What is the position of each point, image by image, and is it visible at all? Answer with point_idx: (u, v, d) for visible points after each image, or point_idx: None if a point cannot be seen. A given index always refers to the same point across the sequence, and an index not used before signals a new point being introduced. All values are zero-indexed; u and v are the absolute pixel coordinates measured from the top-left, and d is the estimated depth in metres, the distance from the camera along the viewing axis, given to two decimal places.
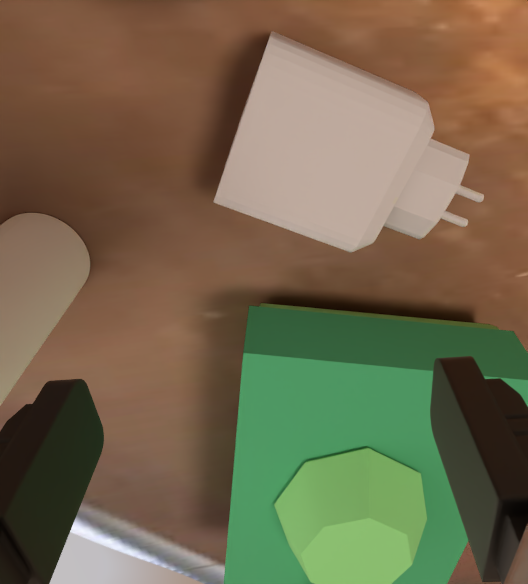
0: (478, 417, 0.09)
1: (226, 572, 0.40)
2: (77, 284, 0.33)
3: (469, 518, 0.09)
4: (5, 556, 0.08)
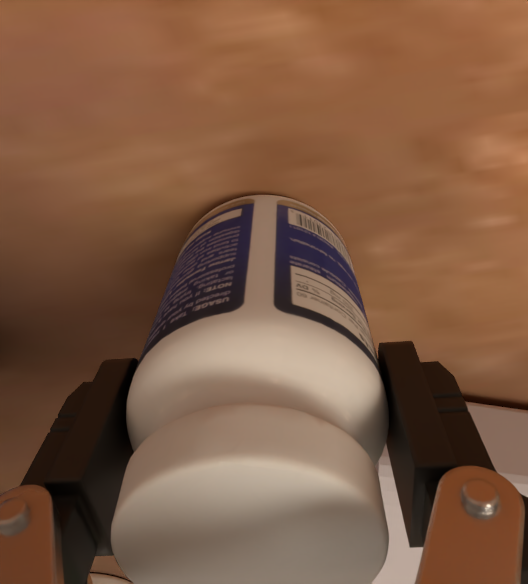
0: (408, 395, 0.10)
1: None
2: None
3: (401, 490, 0.10)
4: (80, 520, 0.09)
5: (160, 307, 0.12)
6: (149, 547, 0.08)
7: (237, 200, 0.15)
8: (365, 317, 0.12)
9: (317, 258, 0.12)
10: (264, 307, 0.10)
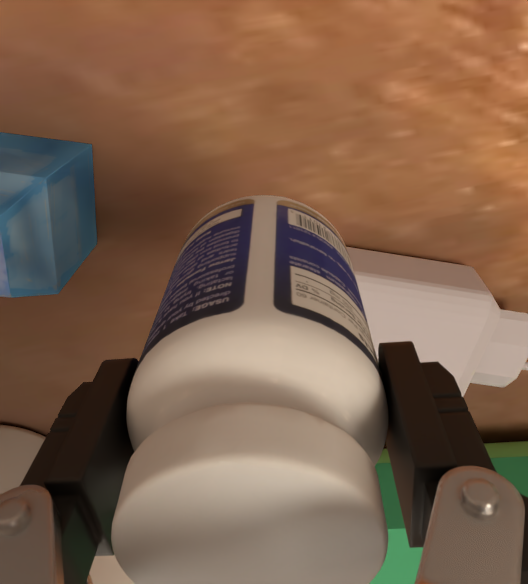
0: (408, 395, 0.10)
1: None
2: None
3: (401, 490, 0.10)
4: (80, 520, 0.09)
5: (160, 307, 0.12)
6: (150, 546, 0.08)
7: (237, 200, 0.15)
8: (365, 317, 0.12)
9: (316, 258, 0.12)
10: (264, 307, 0.10)
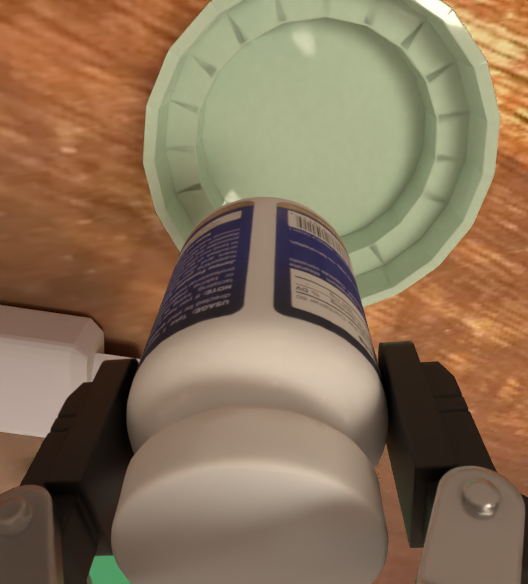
0: (408, 395, 0.10)
1: None
2: None
3: (401, 490, 0.10)
4: (80, 520, 0.09)
5: (160, 309, 0.12)
6: (150, 550, 0.08)
7: (237, 202, 0.15)
8: (364, 319, 0.12)
9: (316, 260, 0.12)
10: (264, 310, 0.10)
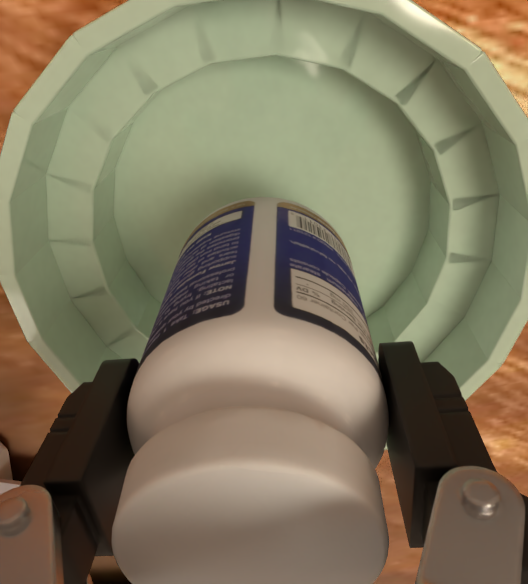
0: (408, 395, 0.10)
1: None
2: None
3: (401, 490, 0.10)
4: (80, 520, 0.09)
5: (160, 310, 0.12)
6: (150, 550, 0.08)
7: (237, 202, 0.15)
8: (365, 319, 0.12)
9: (317, 260, 0.12)
10: (264, 310, 0.10)
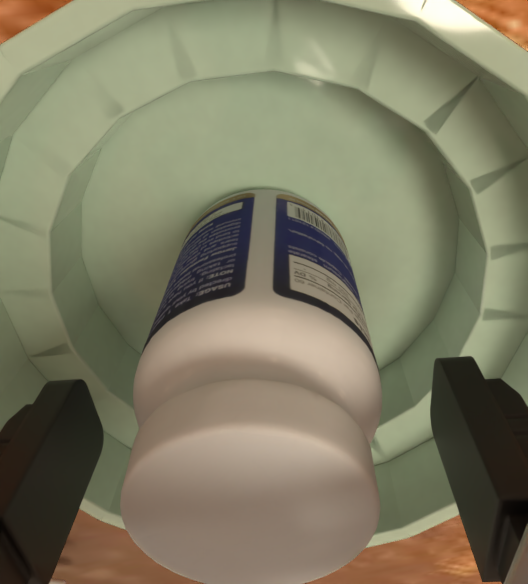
0: (478, 417, 0.09)
1: None
2: None
3: (469, 518, 0.09)
4: (4, 556, 0.08)
5: (165, 295, 0.13)
6: (157, 513, 0.09)
7: (238, 194, 0.15)
8: (360, 304, 0.13)
9: (314, 248, 0.13)
10: (264, 292, 0.10)
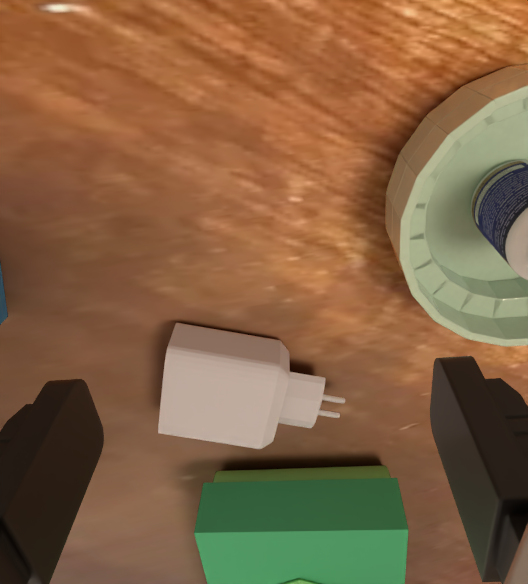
0: (478, 417, 0.09)
1: None
2: None
3: (469, 518, 0.09)
4: (4, 556, 0.08)
5: (506, 200, 0.30)
6: None
7: (513, 162, 0.33)
8: None
9: None
10: None
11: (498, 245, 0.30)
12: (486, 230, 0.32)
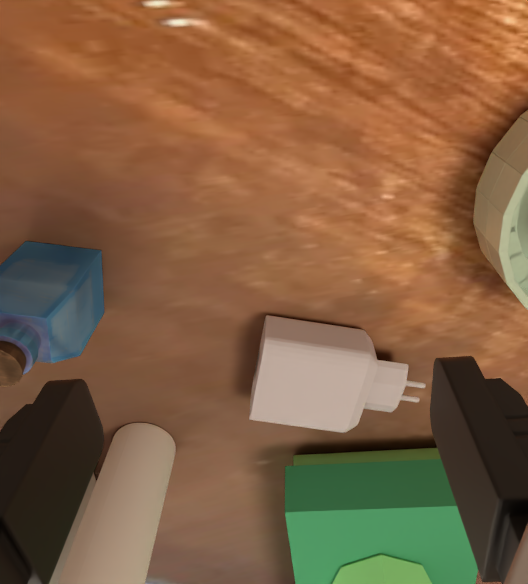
0: (478, 417, 0.09)
1: None
2: (171, 466, 0.51)
3: (469, 518, 0.09)
4: (4, 556, 0.08)
5: None
6: None
7: None
8: None
9: None
10: None
11: None
12: None
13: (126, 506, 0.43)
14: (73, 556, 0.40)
